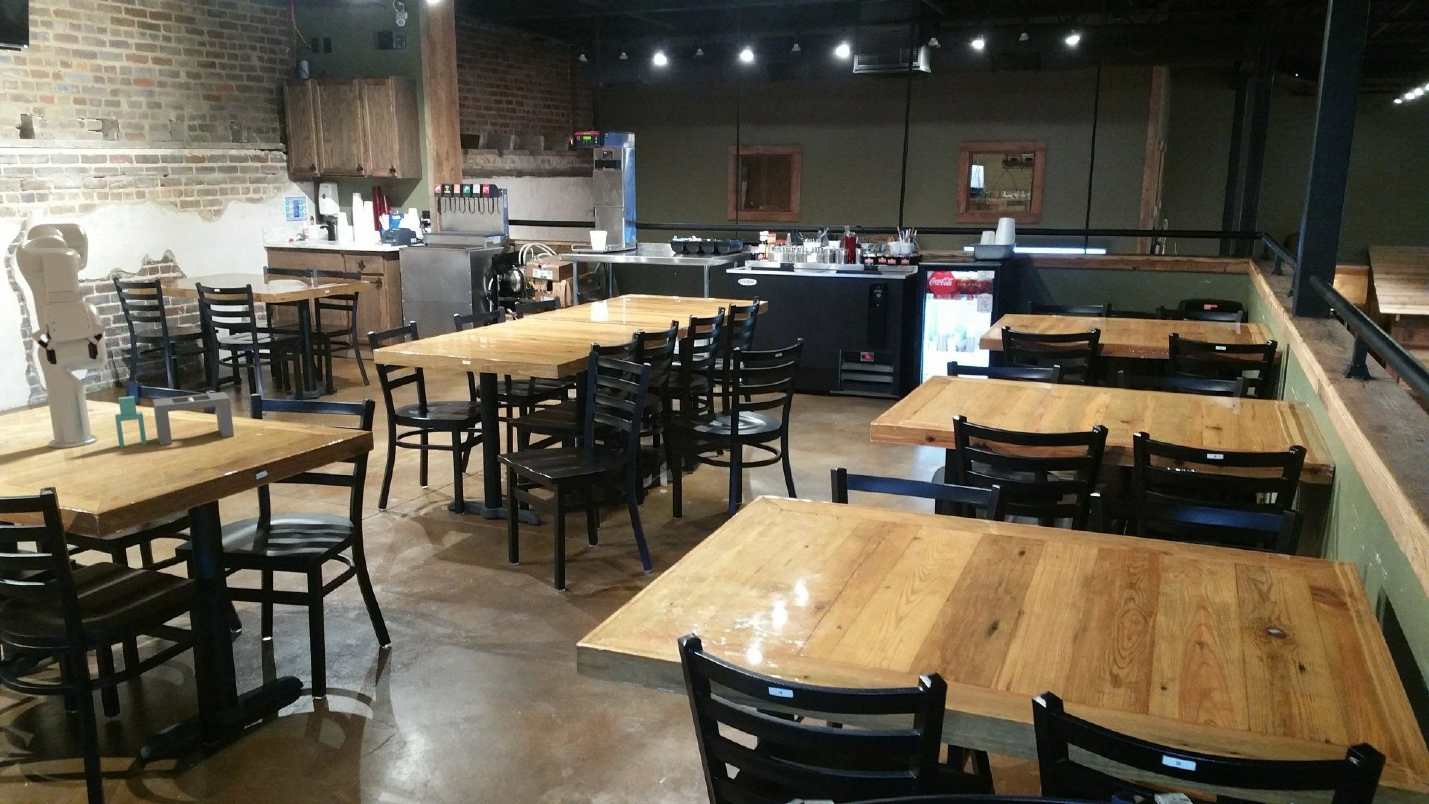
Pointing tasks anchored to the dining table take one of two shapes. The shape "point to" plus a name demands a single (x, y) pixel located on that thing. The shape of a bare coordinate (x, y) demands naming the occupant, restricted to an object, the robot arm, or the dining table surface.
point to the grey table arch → (191, 403)
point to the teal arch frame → (129, 418)
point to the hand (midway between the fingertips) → (73, 361)
